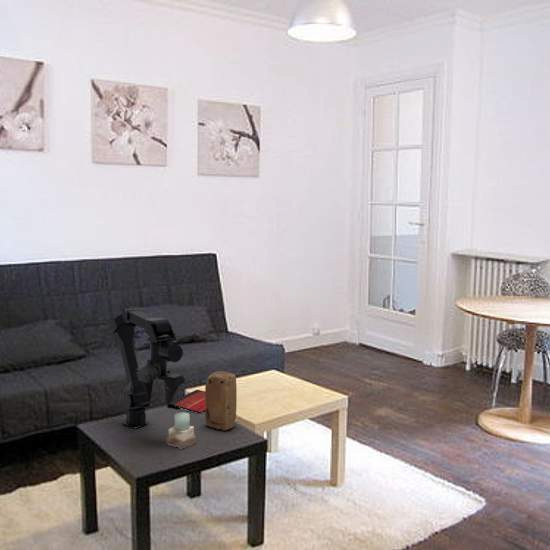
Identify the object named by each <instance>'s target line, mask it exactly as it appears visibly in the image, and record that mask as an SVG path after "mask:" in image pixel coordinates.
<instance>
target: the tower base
mask: <svg viewBox="0 0 550 550" xmlns="http://www.w3.org/2000/svg"><path fill="white" fill-rule="evenodd" d="M195 442H196V443H197V435H195V434H194V435H193V436H192V437H190V438H188V439H186V440H185V441H181V440H176V439H172V438H169V435H168V436H166V444H167V443H169V444H172V445H174V446H177V447H180V448H183V447H186V446H188V445H190V444H193V443H195Z"/></svg>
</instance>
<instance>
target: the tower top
mask: <svg viewBox="0 0 550 550" xmlns="http://www.w3.org/2000/svg"><path fill="white" fill-rule="evenodd" d="M193 435H195V426H194V425H193V426H192V425H190V428H189V429H188V430H184V431H179V430H176V429H175V425H173V426H172V427H170V428H169V429H168V436H169V438H172V439H176V440H181V441H185V440H186V439H188V438H190V437H192V436H193Z"/></svg>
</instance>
